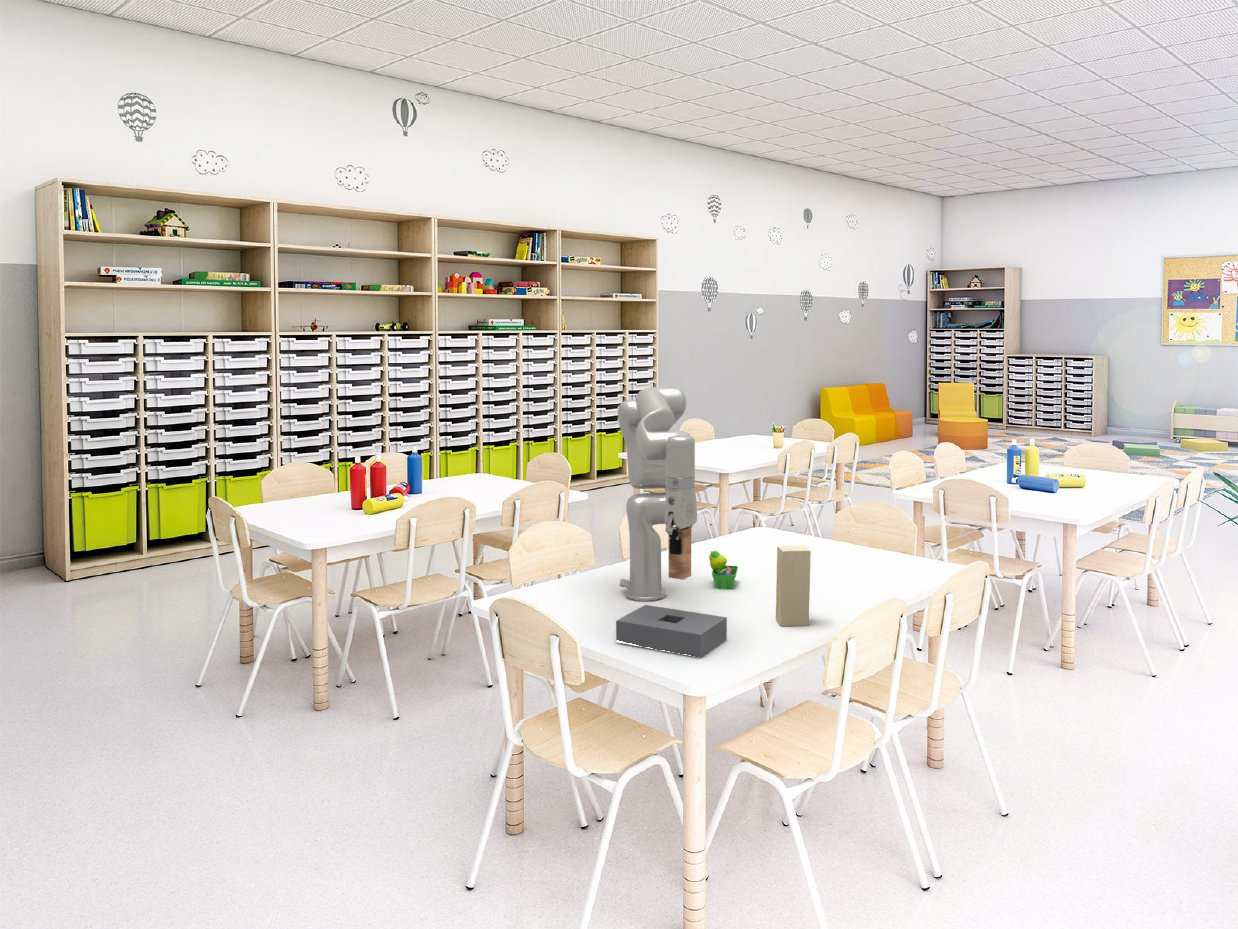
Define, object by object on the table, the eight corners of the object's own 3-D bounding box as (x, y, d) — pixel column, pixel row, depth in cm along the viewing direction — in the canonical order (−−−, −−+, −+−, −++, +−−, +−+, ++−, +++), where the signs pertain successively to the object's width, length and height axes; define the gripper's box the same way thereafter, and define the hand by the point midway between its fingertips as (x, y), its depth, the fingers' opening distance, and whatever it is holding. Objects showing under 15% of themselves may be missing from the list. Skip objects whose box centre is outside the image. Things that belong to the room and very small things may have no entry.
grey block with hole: (616, 643, 238) (616, 620, 237) (645, 626, 252) (645, 604, 251) (700, 658, 226) (700, 634, 225) (726, 639, 240) (726, 617, 239)
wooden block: (668, 577, 241) (668, 529, 239) (676, 573, 244) (676, 525, 242) (683, 579, 238) (683, 530, 236) (691, 575, 242) (691, 527, 240)
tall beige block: (803, 617, 257) (804, 544, 254) (809, 626, 250) (810, 550, 247) (775, 618, 257) (775, 545, 254) (780, 626, 250) (781, 551, 247)
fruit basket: (736, 590, 285) (736, 555, 284) (707, 589, 287) (707, 554, 285) (737, 581, 297) (738, 547, 295) (710, 580, 298) (710, 546, 297)
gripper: (678, 489, 228) (677, 561, 231) (707, 479, 243) (707, 546, 245) (651, 486, 232) (651, 557, 235) (682, 477, 247) (681, 543, 249)
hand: (680, 551), depth 240 cm, fingers closed on wooden block, 4 cm apart
